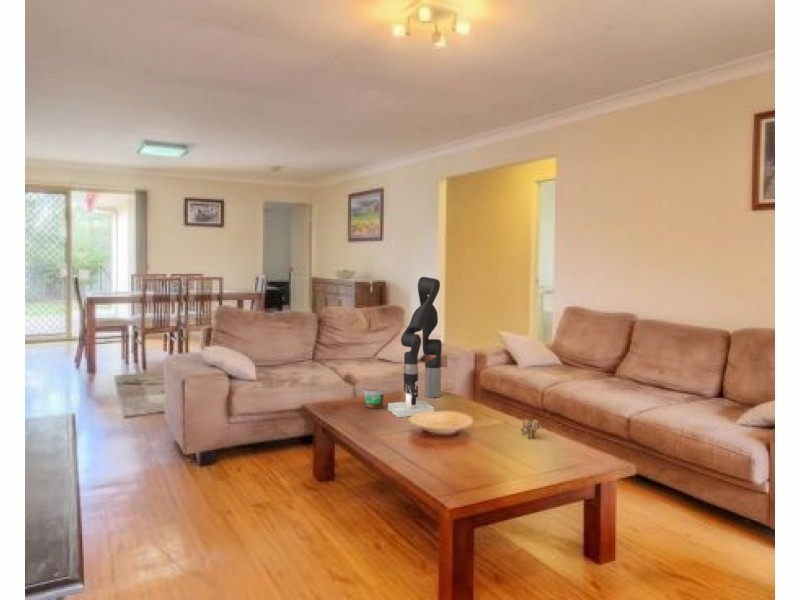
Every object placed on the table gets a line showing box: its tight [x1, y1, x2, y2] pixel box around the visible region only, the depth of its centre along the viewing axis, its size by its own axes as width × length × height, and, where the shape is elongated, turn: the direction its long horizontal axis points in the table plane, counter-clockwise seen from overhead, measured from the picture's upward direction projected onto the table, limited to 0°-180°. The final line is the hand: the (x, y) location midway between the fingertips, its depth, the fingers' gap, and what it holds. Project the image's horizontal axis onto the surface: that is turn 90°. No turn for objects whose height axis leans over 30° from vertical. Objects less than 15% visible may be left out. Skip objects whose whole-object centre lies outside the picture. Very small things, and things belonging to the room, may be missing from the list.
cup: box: [405, 392, 416, 410], centre depth 289 cm, size 5×5×9 cm
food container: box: [362, 387, 386, 410], centre depth 295 cm, size 12×6×10 cm, turn 68°
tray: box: [387, 399, 435, 418], centre depth 289 cm, size 16×20×4 cm
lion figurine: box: [520, 419, 542, 440], centre depth 251 cm, size 15×5×9 cm, turn 16°
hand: (410, 402), depth 289 cm, fingers open, 8 cm apart
